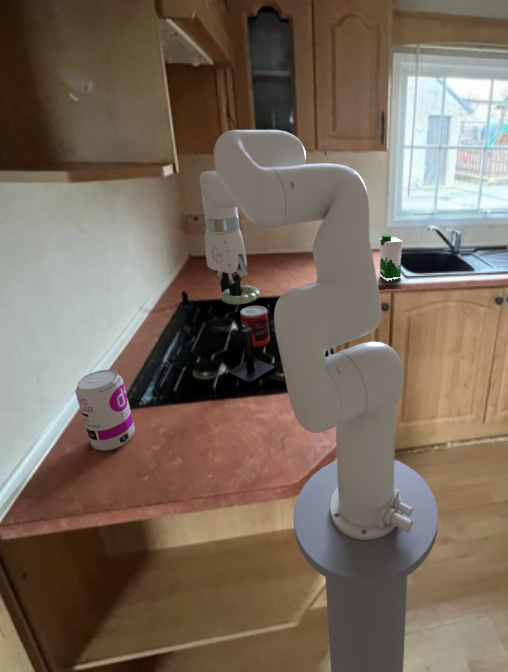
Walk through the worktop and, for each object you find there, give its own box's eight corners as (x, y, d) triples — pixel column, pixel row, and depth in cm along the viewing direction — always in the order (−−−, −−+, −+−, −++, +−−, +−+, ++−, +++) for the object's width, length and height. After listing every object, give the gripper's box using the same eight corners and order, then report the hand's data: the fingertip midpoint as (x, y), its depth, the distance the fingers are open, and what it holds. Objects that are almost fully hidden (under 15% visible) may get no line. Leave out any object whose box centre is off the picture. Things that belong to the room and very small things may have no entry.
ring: (267, 296, 104) (266, 289, 104) (238, 308, 97) (238, 300, 96) (242, 289, 109) (241, 282, 108) (213, 300, 102) (212, 292, 101)
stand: (275, 370, 113) (271, 327, 109) (250, 386, 106) (244, 340, 102) (252, 361, 118) (248, 319, 113) (227, 375, 111) (221, 331, 106)
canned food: (248, 336, 132) (244, 305, 128) (272, 337, 132) (269, 305, 128) (240, 348, 125) (236, 315, 121) (266, 348, 125) (263, 315, 121)
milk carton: (377, 276, 187) (377, 233, 180) (395, 274, 190) (396, 232, 183) (385, 283, 179) (385, 238, 172) (403, 280, 182) (405, 236, 175)
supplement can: (143, 426, 92) (129, 368, 87) (121, 453, 84) (104, 391, 79) (107, 425, 92) (91, 367, 87) (82, 452, 84) (63, 390, 79)
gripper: (188, 223, 99) (199, 293, 106) (232, 231, 91) (241, 307, 98) (214, 218, 105) (223, 285, 112) (258, 225, 97) (265, 297, 104)
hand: (231, 295), depth 105 cm, fingers closed on ring, 2 cm apart
